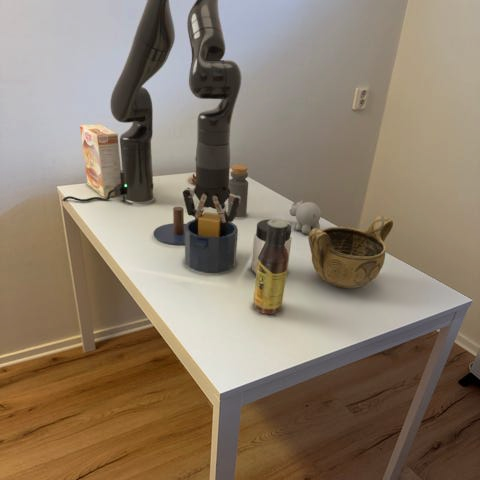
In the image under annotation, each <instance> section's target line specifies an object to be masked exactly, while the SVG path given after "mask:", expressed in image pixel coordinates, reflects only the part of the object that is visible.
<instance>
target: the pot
mask: <svg viewBox="0 0 480 480" xmlns="http://www.w3.org/2000/svg"><path fill="white" fill-rule="evenodd" d="M185 224H186V225H185V245H184V263H185V265H186V266H187V267H188V268H189V269H192V270H193V271H195V272H201V273H205V274H218V273H223V272H228V271H229V270H231V269H233V268H234V267H235V266H236V264H237V252H238V251H237V249H238V235H239V234H238V232H239V230H238V226H237V225H236V224H235V223H233V221H232V222H230V221H229V222H228V227H227V233H226V234H225V235H224V236H222V237H204V236H199V235H198V231H196V229H195V219H193V220H190V221H188V222H187V223H185Z"/></svg>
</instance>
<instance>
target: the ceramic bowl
mask: <svg viewBox="0 0 480 480" xmlns="http://www.w3.org/2000/svg"><path fill="white" fill-rule="evenodd" d="M393 226H394V221H393V220H392V219H391V218H388V217H386V216H385V215H378V216H377V217H376V218H374V220H373V221H372V222H371V224H370V225H369V227H368V229H367V230H362V229H358V228H354V227H347V226H329V227H325V228H322V229H321V228H320V229H318V228H314V229H312V230H311V231H310V233H309V234H308V237H307V239H308V244H309V249H310V254H311V262H312V265H313V268H314V270H315V272H316V273H317V275H318V276H319V277H320V278H321V279H322V280H323V281H325V282H326V283H328V284H329V285H331V286H334V287H337V288H341V289H356V288H360V287H363V286H367V285H368V284H370V283H371V282H372V281H373V280H374V279H375V278H376V277H378V276H379V273H380V272H381V270H382V268H383V267H384V263H385V259H386V250H387V246H386V243H385V240H386V239H387V237H388V235H390V232H391V231H392V229H393Z"/></svg>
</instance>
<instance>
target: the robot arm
mask: <svg viewBox="0 0 480 480" xmlns="http://www.w3.org/2000/svg"><path fill="white" fill-rule="evenodd" d="M186 23H187V26H186V28H187V34H188V38H189V44H190V48H191V49H190V51H191V62H190V68H189V74H188V86H189V90H190V91H191V93H192V95H193V96H194V97H196V98H197V99H199V100H200V99H201V100H219V103H218V104H217V106H215V107H214V108H212V109H207V110H204V111H201V112H200V113H199V114H198V116H197V120H196V121H197V123H196V125H197V126H196V127H197V128H196V131H197V132H196V133H197V135H196V140H197V141H196V149H195V158H194V159H195V160H194V161H195V172H196V185H194V188H190V187H187V188H185V189H184V190H183V191H182V196H183V200H184V205H185V209H186V213H187V215H188V216H192V217H193V218H194V220H195V229H196V231H198V219H199V218H200V217H201V216H202V214H203V213H204V212H205V209H208V208H211V209H213V210H216V214H219V217H220V220H221V223H220V237H222V236H224V235H225V234H226V233H227V227H228V222H229V221H230V222H232V223H233V221H234V220H235V219H236V218H237V217H236V214H237V211H238V208H239V205H240V201H241V198H242V197H241V195H237V196H236V195H233V194H231V193H230V190H229V180H230V165H231V145H230V141H231V123H232V118H233V114H234V109H235V106H236V102H237V100H238V97H239V94H240V90H241V86H242V72H241V69H240V66H239V65H238V63H237V62H236V61H234V60H230V59H229V60H227V59H223V58H224V56H225V54H226V42H225V37H224V31H223V29H222V24H221V17H220V12H219V0H195V2H194V3H193V5H192V6H191V8H190V10H189V12H188V15H187V22H186ZM175 40H176V31H175V25H174V20H173V15H172V11H171V5H170V0H146V3H145V6H144V9H143V11H142V14H141V17H140V20H139V22H138V24H137V28H136V30H135V34H134V36H133V40H132V43H131V47H130V50H129V52H128V55H127V58H126V61H125V62H124V63H125V64H124V66H123V69H122V71H121V73H120V75H119V77H118V79H117V82H116V83H115V85H114V87H113V90H112V92H111V94H110V95H111V96H110V103H109V105H110V107H109V108H110V112H111V115H112V117H113V118H114V120H115V121H117V122H119V123H121V124H122V123H123V124H129V123H132V124H131V125H130V127H129V128H128V129H126V131H124V132H123V133H122V134H120V136H119V148H120V160H121V171H120V179H121V184H119V185H117V186H116V187H114V189H113V190H111V191H110V192H109V193H108V197H100V196H93V197H89V198H78V197H75V196H71V195H69V196H65V197H64V198H62V200H61V201H62V202H65V201H66V200H69V199H70V200H74V201H77V202H90V201H93V200H94V201H95V200H98V201H99V200H100V201H104V202H106V201H109V200H110V198H111V196H110V194H111V193H112V192H114V193H115V195H116V196H117V197H118V196H119V197H121V200H122V202H125V203H127V204H130V205H134V204H135V205H145V204H149V203H152V202H155V196H154V195H155V194H154V186H155V185H154V177H153V174H154V173H153V157H152V139H153V133H154V132H153V131H154V130H153V125H154V124H153V119H154V118H153V116H154V115H153V111H154V110H153V101H152V97H151V94H150V92H149V91H148V89H147V88H146V87H143V86H144V85H145V84H146V83H147V82H148V81H149V80H151V78H153V77H154V76H156V74H157V73H158V72H159V71H160V70H161V69H162V68H163V67H164V65H165V64H166V62H167V60H168V58H169V56H170V54H171V51H172V49H173V46H174V44H175ZM195 196H196V198H197V199H198V205H197V208H196V206H195V205H196V204H195V201H194V197H195ZM228 198H229V199H230V203H231V204H232V208H231V211H230V215H228V210H227V205H226V202H227V201H228Z"/></svg>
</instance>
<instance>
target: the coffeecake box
mask: <svg viewBox="0 0 480 480" xmlns="http://www.w3.org/2000/svg"><path fill="white" fill-rule="evenodd" d="M79 129H80V136H81V144H82V145H81V146H82V151H83V159H84V168H85V173H86V182H87V185H88V186H89V187H90V188H91V189H92V190H94V191H95V192H96V193H98V194H99V195H100V196H102V198H107V197H108V193H109V192H110V191H111V190H113V189H114V187H116V186H117V185H119V184H121V179H120V171H121V170H122V165H121V155H120V143H119V135H118V134H119V133H117V132H115V131H113V130H111V129H110V128H107V127H105V126H104V125H102V124H100V123H93V124H80V125H79ZM116 196H117V195H115V193H114V192H112V193H111V194H110V197H116Z"/></svg>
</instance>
